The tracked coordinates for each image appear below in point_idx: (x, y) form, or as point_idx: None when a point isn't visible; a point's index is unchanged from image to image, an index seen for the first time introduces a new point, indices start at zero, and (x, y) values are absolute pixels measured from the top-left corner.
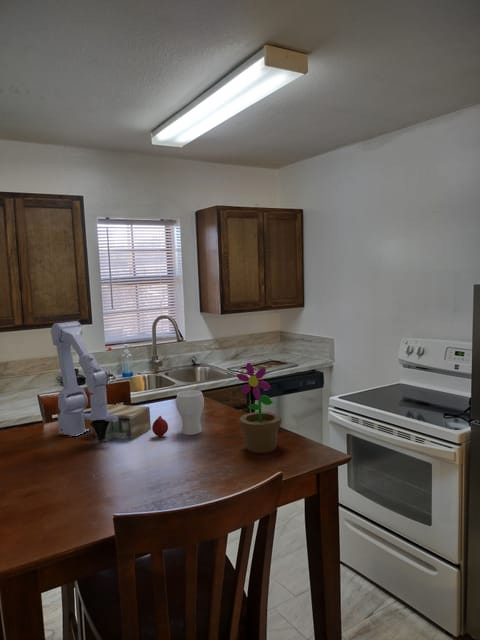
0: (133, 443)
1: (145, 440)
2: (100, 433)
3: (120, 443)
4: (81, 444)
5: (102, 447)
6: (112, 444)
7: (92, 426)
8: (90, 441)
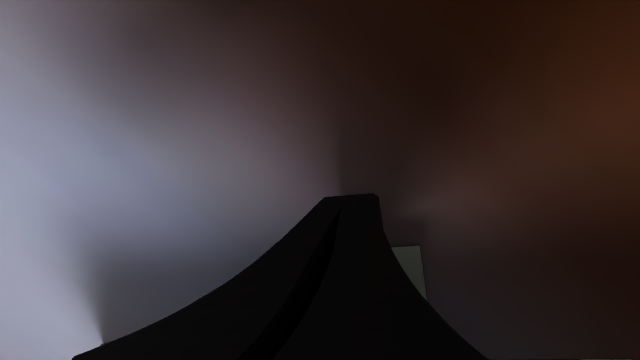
0: (16, 274)
1: (6, 350)
2: (275, 249)
3: (121, 240)
4: (632, 28)
5: (188, 66)
6: (170, 191)
7: (431, 328)
8: (556, 182)
